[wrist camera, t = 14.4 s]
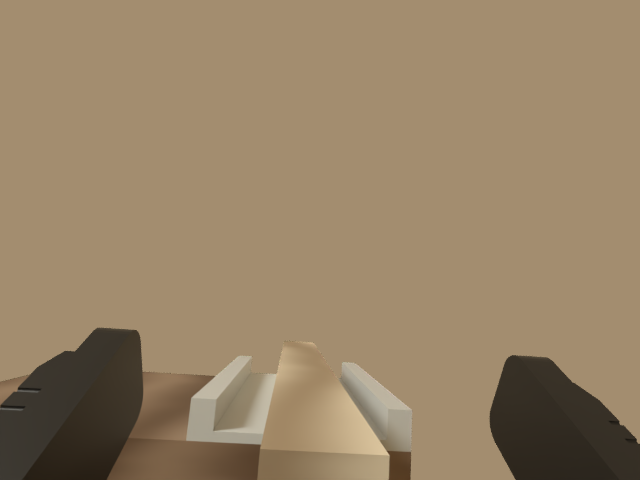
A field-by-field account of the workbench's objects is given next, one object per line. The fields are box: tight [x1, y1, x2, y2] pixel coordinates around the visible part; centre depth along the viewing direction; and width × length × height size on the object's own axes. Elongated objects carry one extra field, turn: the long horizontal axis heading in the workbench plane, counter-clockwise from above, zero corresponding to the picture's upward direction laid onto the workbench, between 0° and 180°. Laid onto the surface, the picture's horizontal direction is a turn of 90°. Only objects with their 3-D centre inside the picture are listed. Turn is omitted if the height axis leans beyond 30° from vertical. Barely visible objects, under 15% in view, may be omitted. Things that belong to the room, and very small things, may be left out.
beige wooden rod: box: [257, 341, 390, 480], centre depth 20 cm, size 2×26×2 cm, turn 4°
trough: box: [186, 356, 412, 452], centre depth 23 cm, size 9×15×2 cm, turn 4°
